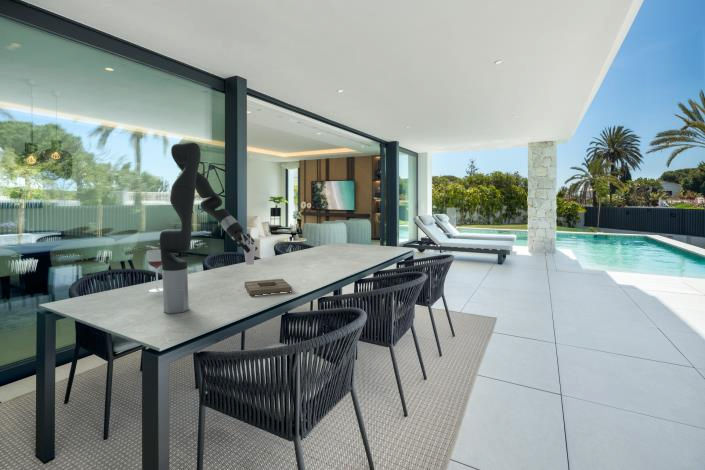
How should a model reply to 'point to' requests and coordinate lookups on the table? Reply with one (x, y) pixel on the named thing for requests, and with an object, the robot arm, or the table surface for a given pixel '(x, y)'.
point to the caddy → (267, 287)
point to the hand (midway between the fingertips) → (252, 250)
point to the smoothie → (250, 253)
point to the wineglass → (155, 264)
